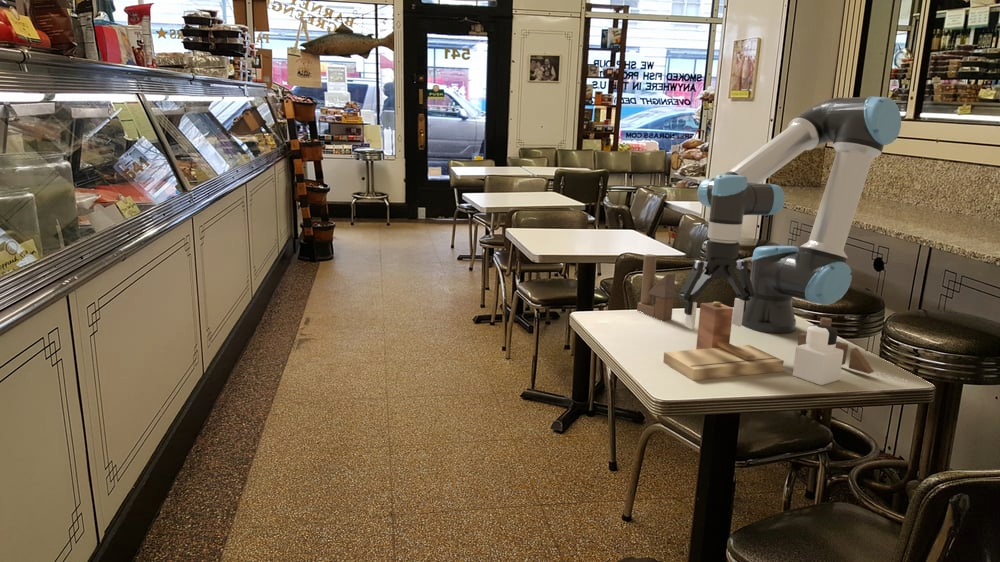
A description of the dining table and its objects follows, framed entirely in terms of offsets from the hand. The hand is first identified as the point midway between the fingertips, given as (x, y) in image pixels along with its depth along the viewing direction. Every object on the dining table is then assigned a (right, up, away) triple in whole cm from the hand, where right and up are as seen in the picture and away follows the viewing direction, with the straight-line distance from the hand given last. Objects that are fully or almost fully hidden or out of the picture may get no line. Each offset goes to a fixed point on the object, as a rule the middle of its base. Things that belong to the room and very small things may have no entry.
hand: (713, 326), depth 167 cm
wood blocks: (+30, -10, -6) cm, 32 cm away
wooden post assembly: (-7, 0, +32) cm, 33 cm away
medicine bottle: (+19, -11, -14) cm, 26 cm away
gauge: (+2, -8, -3) cm, 9 cm away
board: (-1, -9, -8) cm, 12 cm away
